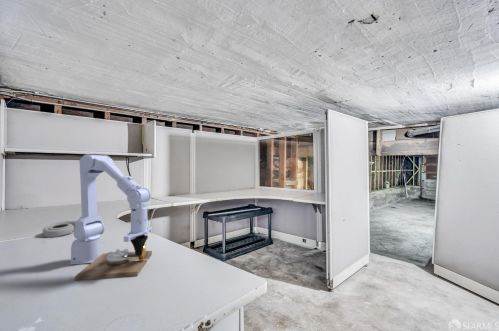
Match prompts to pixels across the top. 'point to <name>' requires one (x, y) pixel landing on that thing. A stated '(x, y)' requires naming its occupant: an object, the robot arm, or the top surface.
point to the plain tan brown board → (112, 268)
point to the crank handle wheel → (123, 256)
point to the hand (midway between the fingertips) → (138, 255)
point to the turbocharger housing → (59, 229)
